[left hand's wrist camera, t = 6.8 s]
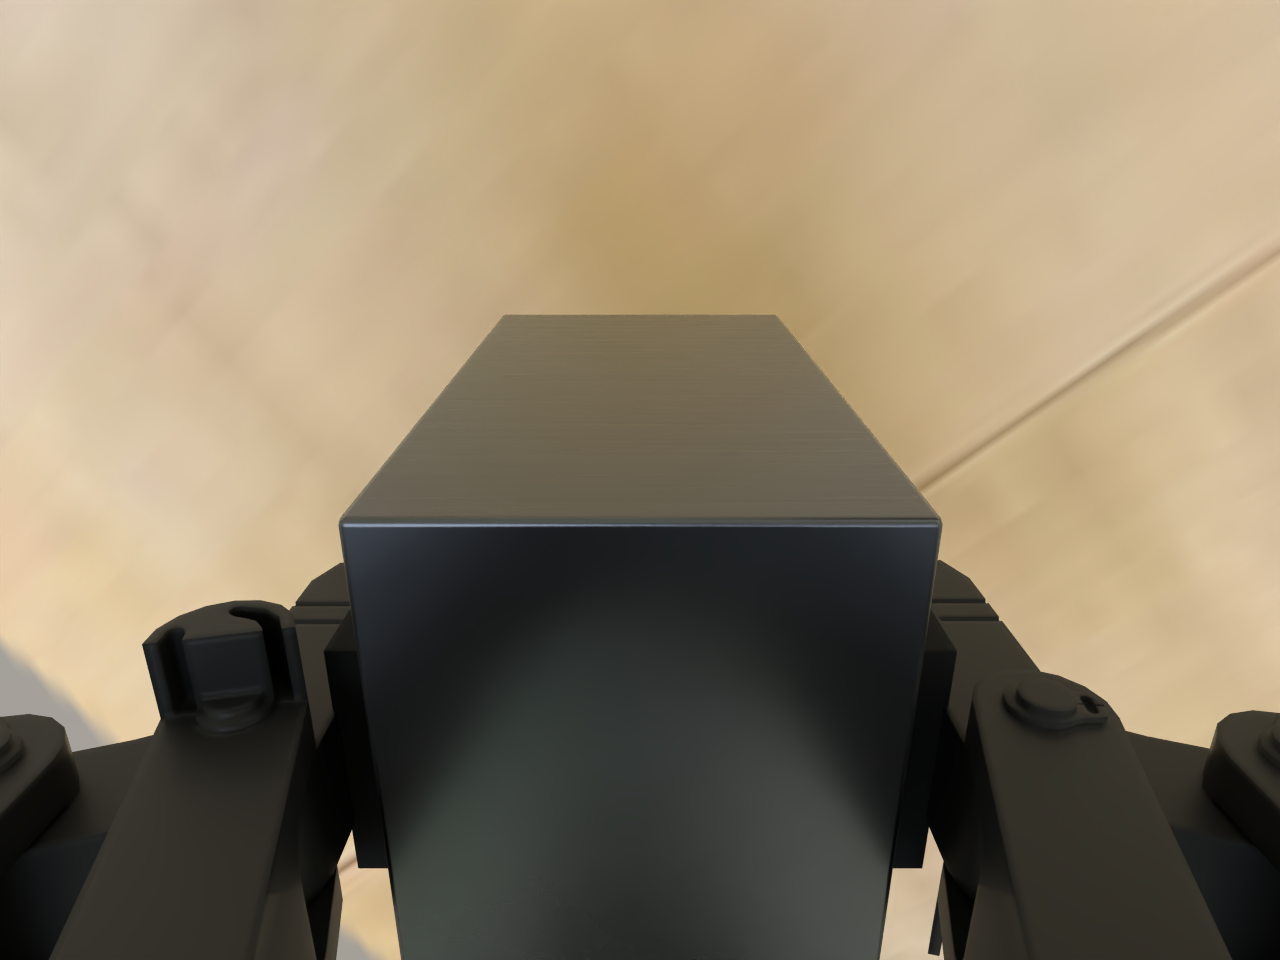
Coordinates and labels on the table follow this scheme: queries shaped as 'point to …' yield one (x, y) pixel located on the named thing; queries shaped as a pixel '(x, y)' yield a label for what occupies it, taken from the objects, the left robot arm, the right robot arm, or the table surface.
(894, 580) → the bar
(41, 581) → the table surface
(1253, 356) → the table surface
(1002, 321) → the table surface
